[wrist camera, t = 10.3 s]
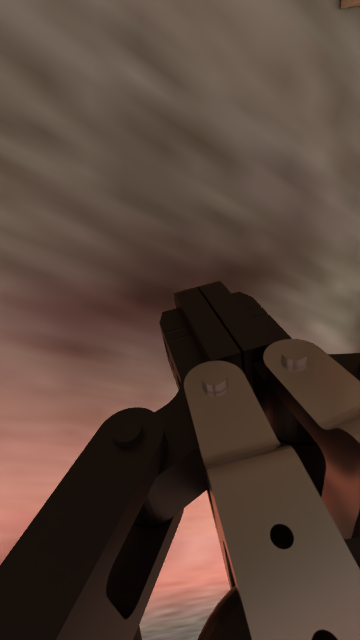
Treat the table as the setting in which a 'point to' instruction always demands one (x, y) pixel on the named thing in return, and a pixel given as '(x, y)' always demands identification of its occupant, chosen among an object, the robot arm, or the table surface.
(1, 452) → the table surface
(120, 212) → the table surface
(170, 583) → the table surface
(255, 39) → the table surface
